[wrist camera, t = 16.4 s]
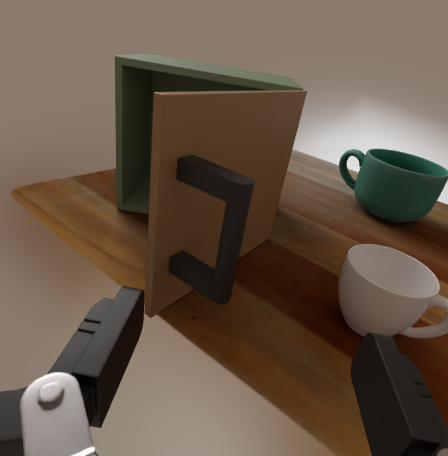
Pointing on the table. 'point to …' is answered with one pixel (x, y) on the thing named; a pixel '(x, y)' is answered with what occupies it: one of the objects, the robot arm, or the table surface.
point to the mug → (395, 183)
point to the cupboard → (143, 110)
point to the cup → (388, 293)
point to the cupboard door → (213, 186)
